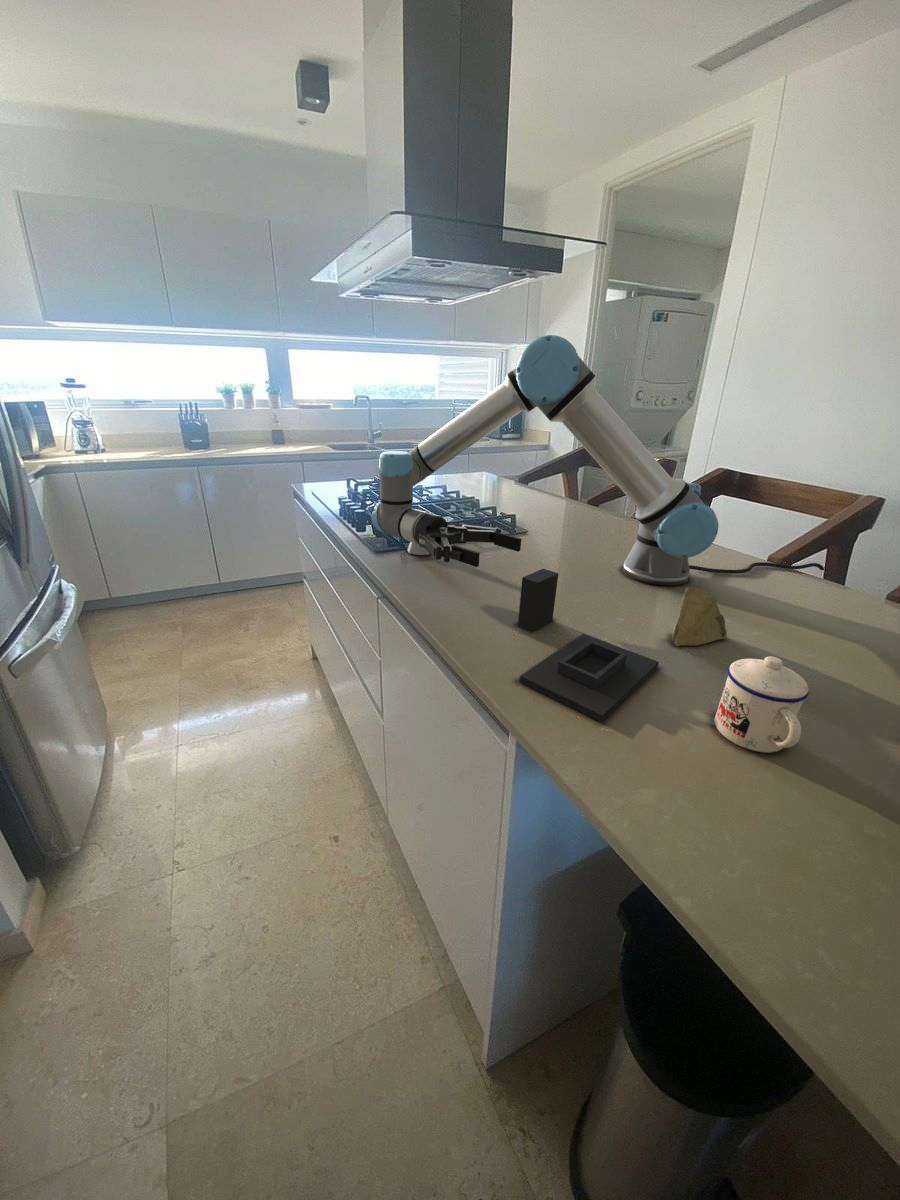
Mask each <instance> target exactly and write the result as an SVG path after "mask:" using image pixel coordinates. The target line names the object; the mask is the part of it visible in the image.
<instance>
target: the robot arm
mask: <svg viewBox="0 0 900 1200" xmlns="http://www.w3.org/2000/svg"><path fill="white" fill-rule="evenodd" d="M596 384H597V376H596V375H595V373H593V371H592V370H591V369H590V367H589V366H588V365H587V364H586V363H585V362H584V360H583V359H582V358H581V357H580V355H579V354H578V352H577V350H576V348H575V346H574V344H572V343H571V342H570V341H569V340H568V339H566V338H564V337H562V336H560V335H555V334H547V335H542V336H539V337H537V338H536V339H533V340H532V341H531V342H530V343H529V344H528V345H526V346H525V348H524V350H523V351H522V352H521V353H520V355H519V358H518V360H517V363H516V366H515V367H514V368H513V369H512V370H511V371H509V372H507V374H506V376H505V379H504V381H503V382H502V383H501V384H500V385H498V386H496V387H495V388H494V389H492V390H491V391H490V392H489V393H487V394H485V395H484V396H483V397H482V398H480V399H479V400H477V402H475V403H473V404H472V405H471V406H470V407H468V408H467V409H466V410H464V411H463V412H461V413H460V414H458V415H457V416H455V418H453V419H452V420H450V421H449V422H448V423H446V424H445V425H444V426H443V427H441V428H440V429H438V430H437V431H436V432H434V433H433V434H431V435H430V436H428V437H427V438H426V439H425V440H423V441H422V442H421V443H419V444H418V445H416V446H415V447H414V448H412V449H411V450H409V451H404V450H403V451H402V450H389V451H383V452H381V453H380V455H379V463H378V464H379V466H378V473H379V495H380V498H379V499H380V500H379V502H377V503H376V504H375V505H374V507H373V509H372V513H371V516H370V517H371V519H370V520H371V523H372V526H373V527H374V528H375V529H376V530H377V531H378V532H381V533H382V534H383V533H384V534H385V535H387V536H390V537H395V538H398V539H401V540H404V541H408V542H409V543H410V542H413V543H414V544H415V545H418V544H419V546H420V547H423V548H425V549H426V550H427V551H428V552H429V553H430V554H429V555H431V556H432V557H433V559H435V560H436V561H440V560H442V558H443V562H444V563H449V562H450V561H451V560H454V561H456V562H457V561H458V562H459V563H463V564H466V565H468V566H471V567H474V568H479V567H480V552H478V551H475V550H472V549H469V548H466V547H463V546H459V545H456V544H467V542H469V543H471V542H472V543H493V545H494V546H497V547H501V548H505V549H508V550H511V551H514V552H521V547H522V538H521V537H518V536H513V535H511V534H507V533H503V532H502V528H500V527H497V526H496V527H490V526H480V525H471V524H465V523H459V524H458V526H456V525H455V524H448V521H447V520H446V519H445V518H444V517H443V516H441V515H439V514H434V513H431V512H428V511H424V510H421V509H416V508H413V498H414V497H413V491H414V490H413V487H415V486H416V485H418V484H420V483H421V482H423V481H424V480H425V479H427V478H428V477H429V476H431V475H432V474H433V473H435V472H436V471H437V470H439V469H441V468H442V467H444V466H445V465H446V464H448V463H449V462H451V461H452V460H454V459H455V458H456V457H457V456H459V455H460V454H462V453H464V452H465V451H466V450H468V449H469V448H471V447H473V446H474V445H475V444H477V443H478V442H480V441H482V440H483V439H484V438H485V437H487V436H488V435H490V434H491V433H493V432H494V431H495V430H497V429H498V428H500V427H501V426H503V425H504V424H506V423H507V422H509V421H511V420H512V419H513V418H514V417H515V416H517V415H519V414H521V413H522V412H525V413H529V412H531V411H532V410H534V409H535V408H538V409H539V411H540V412H541V413H542V414H543V415H544V416H545V417H546V419H548V421H549V422H550V423H551V422H553V423H554V422H555V423H562V424H563V425H564V427H565V428H566V429H567V430H568V431H569V432H570V433H571V434H572V435H573V437H574V438H575V439H576V440H577V441H578V442H579V443H580V445H581V446H582V447H583V448H584V449H585V451H587V453H588V454H589V455H590V456H591V457H592V458H593V459H594V461H595V462H596V463H597V464H598V465H599V466H600V467H601V469H603V471H604V472H605V473H606V474H607V475H608V476H609V478H610V479H611V480H612V481H613V482H614V483H615V484H616V486H617V487H618V488H619V489H620V490H621V491H622V492H623V494H625V495H626V497H627V498H628V499H629V500H630V501H631V502H632V504H633V505H634V506H635V515H634V517H635V519H636V520H637V521H638V522H639V525H638V530H637V535H636V539H635V543H634V544H633V546H632V548H631V550H630V552H628V555H627V557H626V559H625V560H624V562H623V566H622V567H623V568H622V571H623V573H624V574H625V575H626V576H628V577H629V578H631V579H633V580H636V581H638V582H641V583H646V584H650V585H656V586H679V585H683V584H685V583H687V582H688V581H689V577H690V570H694V571H701V572H707V573H716V574H745V573H748V572H750V571H751V570H752V569H753V568H754V567H772V568H778V569H787V570H804V569H807V568H813V567H815V568H818V569H819V570H820V571H825V570H826V569H825V567H824V566H823V565H822V564H820V563H817V562H810V563H805V564H800V565H799V564H798V565H790V564H783V563H782V564H781V563H775V562H765V561H761V562H759V561H758V562H753V563H751V564H749V565H748V566H747V567H746V568H739V569H723V568H712V567H704V566H700V565H699V566H698V565H692V564H689V558H692V557H695V556H698V555H700V554H702V553H703V552H705V551H706V550H707V549H709V548H710V547H711V545H712V544H714V541H715V540H716V537H717V536H718V534H719V520H718V518H717V515H716V512H715V511H714V510H713V508H712V507H710V506H709V505H707V504H706V503H705V502H704V501H703V500H702V499H701V498H700V497H701V495H702V492H701V491H702V487H701V484H699V483H696V482H695V483H694V482H686V480H685V479H683V478H672V477H671V476H670V474H669V473H668V472H667V471H666V470H665V469H664V467H663V466H662V465H661V464H660V463H659V461H658V460H657V459H656V458H655V456H653V455H652V453H651V452H650V451H649V450H648V449H647V447H646V446H645V445H644V444H643V443H642V441H641V440H640V439H639V438H638V437H637V436H636V435H635V434H634V432H633V431H632V429H630V427H628V425H627V424H626V423H625V422H624V421H623V419H622V418H621V417H620V416H619V415H618V414H617V413H616V411H615V410H614V409H613V408H612V407H611V406H610V405H609V403H608V402H607V401H606V400H605V398H603V396H602V395H601V393H599V392H598V391H597V388H596V386H597V385H596ZM462 537H463V538H462Z"/></svg>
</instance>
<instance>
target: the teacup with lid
mask: <svg viewBox="0 0 900 1200" xmlns="http://www.w3.org/2000/svg"><path fill="white" fill-rule="evenodd" d="M783 664H784V663H783V661H782V660H781V659H780V658H778V657H776V656H772V655H769V656H766V657H764V659H759V658H758V659H757V658H741V659H738V660H735V661H734V662H732V663H731V664H730V665H729V666H728V668H727V678H726V681H725V685H724V687H723V690H722V694H721V698H720V701H719V703H718V707H717V710H716V713H715V716H714V724H715V728H716V729H717V731H718V732H719V733H720V734H721V735H722V736H724V737H725V738H726V739H727V740H729V741H730V742H731V743H733V744H735V745H737V746H739V747H741V748H744V749H746V750H750V751H753V752H758V753H759V752H760V753H775V752H779V751H781V750H783V749H786V748H787V749H788V748H792V747H794V746H795V745H797V743H798V742H799V741H800V739H801V736H802V725H801V723H800V720H799V717H798V715H799V712H800V710H801V708H802V705H803V703H804V701H805V700H806V699H807V698H808V696H809V694H810V693H809V692H810V691H809V686H808V684H807V681H806V680H805V679H804V678H803V677H802V676H801V675H800V674H799V673H797V672H795V671H794V670H792V669H790V668H788V667H786V666H784V665H783Z"/></svg>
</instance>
